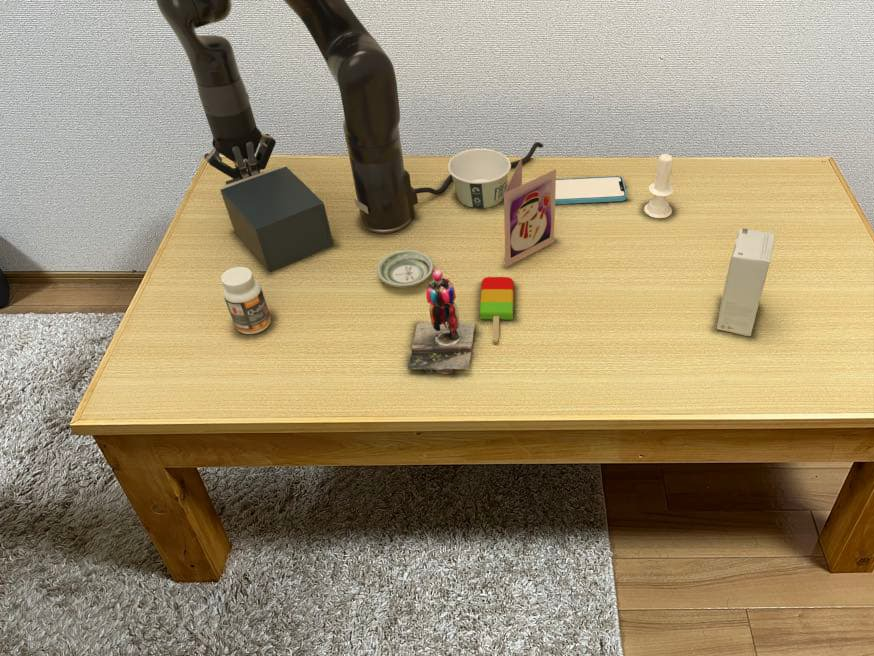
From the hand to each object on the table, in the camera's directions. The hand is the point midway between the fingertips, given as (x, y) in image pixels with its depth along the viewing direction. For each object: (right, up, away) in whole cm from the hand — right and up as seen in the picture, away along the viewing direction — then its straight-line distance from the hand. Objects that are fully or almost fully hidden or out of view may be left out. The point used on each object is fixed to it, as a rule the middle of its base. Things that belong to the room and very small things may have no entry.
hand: (253, 192), depth 143 cm
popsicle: (+46, -24, -15) cm, 54 cm away
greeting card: (+50, -11, -3) cm, 51 cm away
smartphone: (+62, +2, +9) cm, 63 cm away
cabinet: (+6, -9, -2) cm, 11 cm away
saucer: (+30, -18, -9) cm, 36 cm away
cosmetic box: (+86, -25, -15) cm, 91 cm away
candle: (+76, -2, +5) cm, 76 cm away
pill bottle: (+7, -26, -17) cm, 32 cm away
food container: (+42, +2, +8) cm, 42 cm away
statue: (+38, -31, -21) cm, 53 cm away
